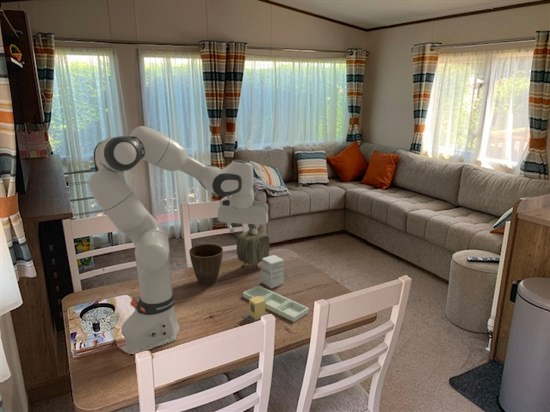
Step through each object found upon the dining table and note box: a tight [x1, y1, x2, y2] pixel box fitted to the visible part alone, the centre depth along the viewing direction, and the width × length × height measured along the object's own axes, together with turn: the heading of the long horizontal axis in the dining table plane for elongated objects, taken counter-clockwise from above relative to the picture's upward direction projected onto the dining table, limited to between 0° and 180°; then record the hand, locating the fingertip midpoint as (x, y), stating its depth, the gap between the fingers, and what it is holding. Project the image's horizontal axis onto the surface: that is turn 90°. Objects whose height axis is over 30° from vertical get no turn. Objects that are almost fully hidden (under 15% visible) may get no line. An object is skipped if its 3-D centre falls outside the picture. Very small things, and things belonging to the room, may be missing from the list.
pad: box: [241, 310, 271, 323], centre depth 158 cm, size 9×9×1 cm
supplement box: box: [261, 254, 285, 289], centre depth 182 cm, size 7×7×13 cm
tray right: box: [275, 299, 310, 323], centre depth 160 cm, size 9×9×2 cm
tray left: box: [242, 284, 274, 300], centre depth 172 cm, size 9×9×2 cm
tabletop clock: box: [236, 224, 270, 270], centre depth 198 cm, size 14×9×25 cm, turn 136°
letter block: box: [248, 296, 266, 320], centre depth 157 cm, size 5×4×7 cm
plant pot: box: [189, 243, 224, 287], centre depth 183 cm, size 15×15×16 cm
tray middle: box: [263, 291, 291, 314], centre depth 166 cm, size 9×9×2 cm
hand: (243, 233), depth 164 cm, fingers open, 8 cm apart
